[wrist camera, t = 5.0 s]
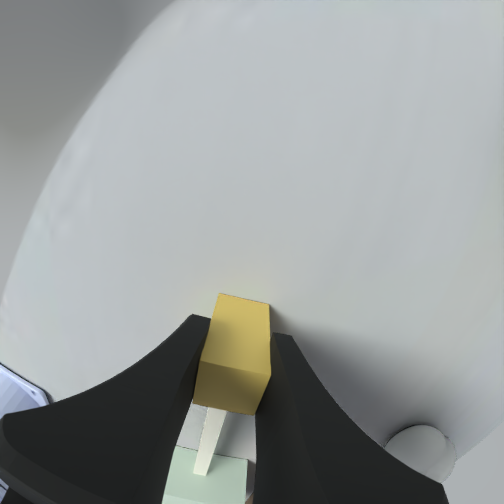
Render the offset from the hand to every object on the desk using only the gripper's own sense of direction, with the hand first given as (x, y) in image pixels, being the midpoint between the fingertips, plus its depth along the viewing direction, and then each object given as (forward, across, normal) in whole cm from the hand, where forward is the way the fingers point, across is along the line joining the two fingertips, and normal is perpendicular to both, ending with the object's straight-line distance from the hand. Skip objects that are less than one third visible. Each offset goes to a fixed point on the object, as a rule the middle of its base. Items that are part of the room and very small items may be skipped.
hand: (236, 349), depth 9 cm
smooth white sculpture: (+3, -15, +9) cm, 18 cm away
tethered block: (+2, 0, +8) cm, 8 cm away
